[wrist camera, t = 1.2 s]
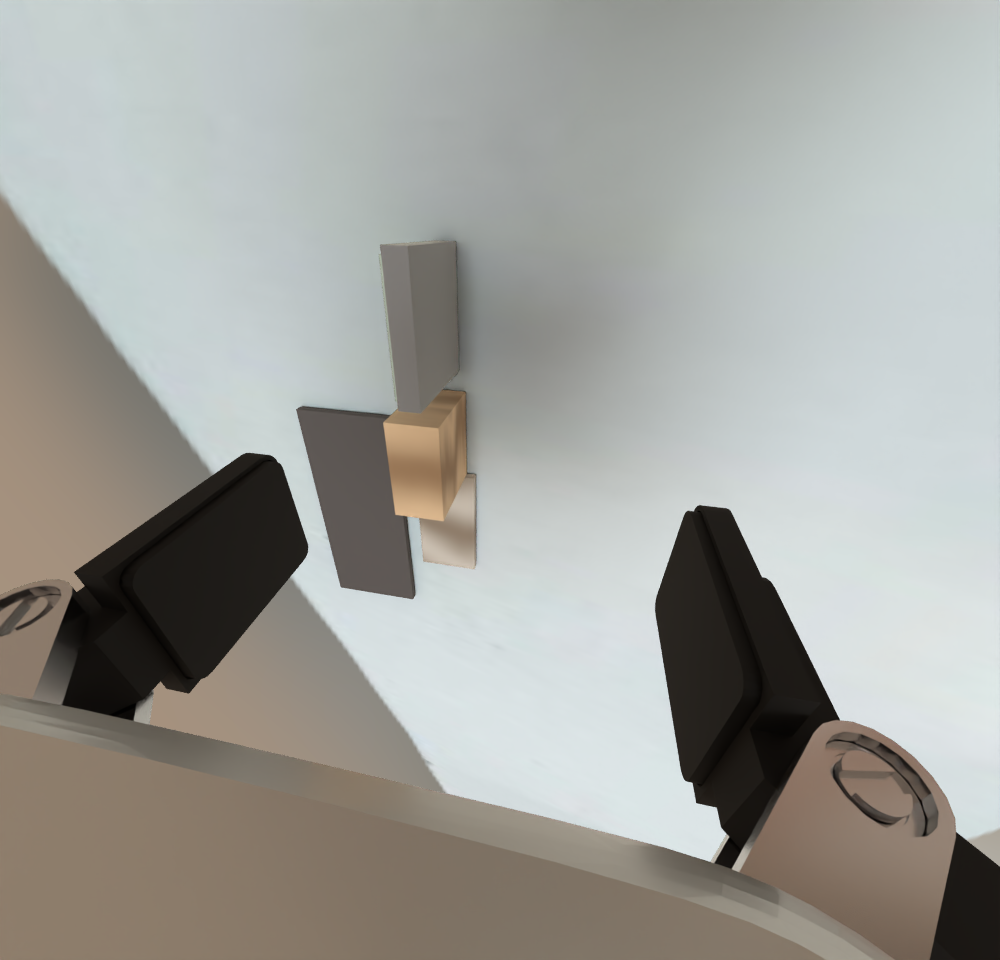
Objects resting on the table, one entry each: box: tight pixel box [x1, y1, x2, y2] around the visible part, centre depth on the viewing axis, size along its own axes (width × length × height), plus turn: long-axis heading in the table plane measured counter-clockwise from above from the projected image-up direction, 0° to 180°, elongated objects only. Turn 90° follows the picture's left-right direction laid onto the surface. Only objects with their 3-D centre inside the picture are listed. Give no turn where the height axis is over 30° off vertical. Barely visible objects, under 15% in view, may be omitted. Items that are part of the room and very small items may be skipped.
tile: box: [379, 240, 459, 414], centre depth 24 cm, size 8×2×8 cm, turn 178°
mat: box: [296, 407, 415, 599], centre depth 37 cm, size 20×8×1 cm, turn 178°
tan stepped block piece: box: [383, 390, 476, 569], centre depth 32 cm, size 17×5×6 cm, turn 178°
